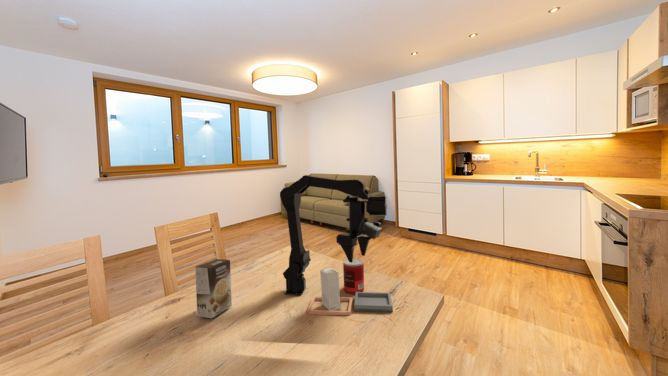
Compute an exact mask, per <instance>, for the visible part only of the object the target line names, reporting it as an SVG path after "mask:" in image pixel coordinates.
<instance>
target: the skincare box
mask: <svg viewBox="0 0 668 376" xmlns="http://www.w3.org/2000/svg"><path fill="white" fill-rule="evenodd" d="M319 272H320V273H319V275H320V285H321V287H320V289H321V297H322V300H321V301H322V302H321V303H322V306H323V307H324V308H325V309H327V310H334V311H339V310H340V309H341V301H340V297H341V295H340V294H341V293H340V280H339V279H340V278H339V277H340V276H339V272H338V271H337V270H335V269H333V268H331V267H328V268H324V269H320V270H319Z"/></svg>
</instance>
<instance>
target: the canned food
mask: <svg viewBox="0 0 668 376" xmlns="http://www.w3.org/2000/svg"><path fill="white" fill-rule="evenodd" d="M364 265H365V264H364V260H362V259H360V258H353V262H352V263H351V262H349V260H348V258H346V259H344V260H343V263H342V266H343V268H342V269H343V271H342V272H343V288H344V291H345V293H348V294H352V295H355V294H356V292H364V290H365V269H364V268H365V267H364Z"/></svg>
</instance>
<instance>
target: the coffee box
mask: <svg viewBox="0 0 668 376" xmlns="http://www.w3.org/2000/svg"><path fill="white" fill-rule="evenodd" d="M231 276H232V275H231V260H230V259H225V258H224V259H223V258H220V259H218V258H214V259H212V260H210V261H206V262H204V263H201V264H197V265H195V289H196V291H195V293H196V295H195V296H196V316H197V317H202V318H207V319H213V318H215V317H216V316H218V315H220V314H221V313H223V312H224V311H226V310H228V309H229V308H231V307H232V306H233V305H232V303H233V301H232V300H233V299H232V282H231V281H232V280H231V279H232V277H231Z"/></svg>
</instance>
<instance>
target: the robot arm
mask: <svg viewBox="0 0 668 376" xmlns="http://www.w3.org/2000/svg"><path fill="white" fill-rule="evenodd" d="M310 187H313V188H320V189H328V190H334V191H339V192H341V193H344V194H346V197H345V198H344V199H343V200H342V201H343V203H348V217H346V222H348V229H346V232H342V233H338V234H337V236H335V238H336V239H335V242H336V243H337V244H338V245H340V247H341V249H342V250H343V252H344V254H345V256H346V259H348V260H349V262H351V263H352V262H353V259H354V254H355V252H354V251H355V248H356V246H357V245H359V251H360V254H361V256H363V257H364V256H365V255H366V253H367V249H368V246H369V244H370V241H371V240H372V239H373V240H375V239H377V238H379V237H380V234H381V233H382V232H383V230H382V228H383V227H382V223H381V222H379V221H376V222H374V223H373V222H372V223H371V222H369V218H368V217H366V213H368V214H369V216H381V217H382V216H383V217H386V216H387V213H388V212H387V211H388V208H387V207H388V205H387V196H386V195H377V196H375V195H374V196H373V195H371V194H370V192H369V191H368V190H367V185H366V183H365V182H364V181H363V180H362V179H335V178H328V177H327V178H326V177H322V176H321V177H320V176H313V175H310V174H309V175H308V174H307V175H306V174H305V175H303V176H301V177H300V178H298V180H296V181H295V182H293V183H292V184H290V185H289V186H285V187H283V188H282V189H281V191H280V192H279V198H280V201H281V204H282V206H283V208H284V210H285V212H286V218H287V225H288V233H289V241H290V242H289V243H290V248H291V249H290V252H289V257H288V267H287V268H286V269H285V270H284V271H283V273H282V275H283V278H284V279H285V288H286V290H285V292H284V294H285V295H302V294H303V293H304V292H305V290H306V288H307V287H306V277H305V274H304V272H305V271H306V269H307V268H308V267H309V265H310V262H311V260H312V259H311V257H310V255H311V254H310V250H309V249H307V250H306V248H305V247H304V241H303V233H302V223H301V216H300V206H301V202H302V194H304V193H305V192H306V191H307V190H308V188H310Z"/></svg>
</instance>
